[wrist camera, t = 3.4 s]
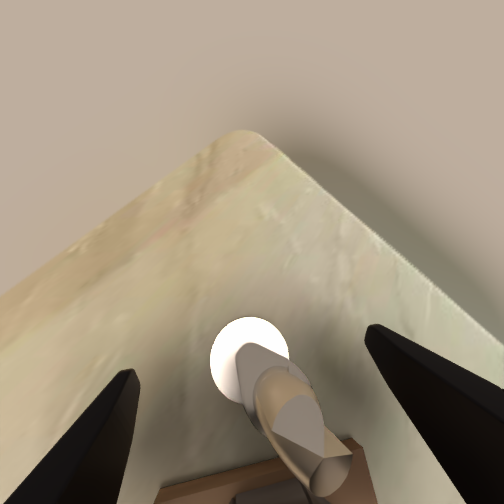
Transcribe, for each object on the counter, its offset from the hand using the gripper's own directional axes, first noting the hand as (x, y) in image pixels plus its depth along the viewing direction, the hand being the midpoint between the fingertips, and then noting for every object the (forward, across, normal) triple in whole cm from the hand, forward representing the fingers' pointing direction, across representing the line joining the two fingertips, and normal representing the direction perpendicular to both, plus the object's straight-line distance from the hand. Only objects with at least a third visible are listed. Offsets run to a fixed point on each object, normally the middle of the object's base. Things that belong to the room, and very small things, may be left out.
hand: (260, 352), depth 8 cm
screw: (+5, 0, +6) cm, 8 cm away
